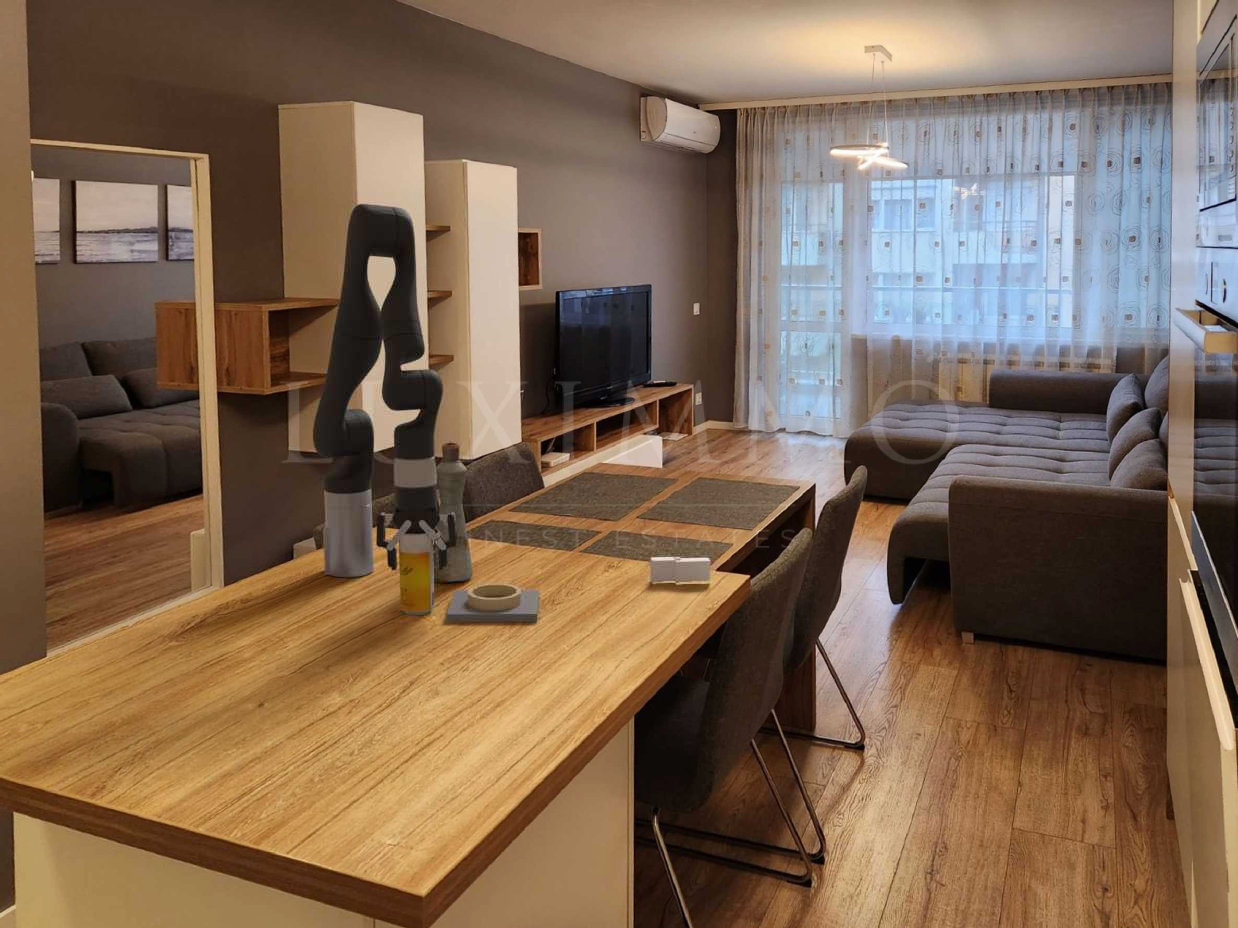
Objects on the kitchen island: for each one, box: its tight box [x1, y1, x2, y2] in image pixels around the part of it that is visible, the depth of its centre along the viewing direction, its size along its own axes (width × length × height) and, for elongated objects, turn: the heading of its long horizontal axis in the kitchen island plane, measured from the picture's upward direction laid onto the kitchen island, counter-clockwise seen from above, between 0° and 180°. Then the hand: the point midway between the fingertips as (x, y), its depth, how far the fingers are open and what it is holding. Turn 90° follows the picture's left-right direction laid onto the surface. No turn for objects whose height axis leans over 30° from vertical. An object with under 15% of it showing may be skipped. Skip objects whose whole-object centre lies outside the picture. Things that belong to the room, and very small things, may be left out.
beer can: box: [398, 533, 435, 616], centre depth 202 cm, size 6×6×15 cm
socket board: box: [446, 582, 540, 623], centre depth 204 cm, size 16×14×4 cm
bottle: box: [433, 441, 474, 583], centre depth 220 cm, size 9×9×28 cm
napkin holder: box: [649, 556, 711, 584], centre depth 222 cm, size 15×11×6 cm
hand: (418, 569), depth 201 cm, fingers open, 8 cm apart
